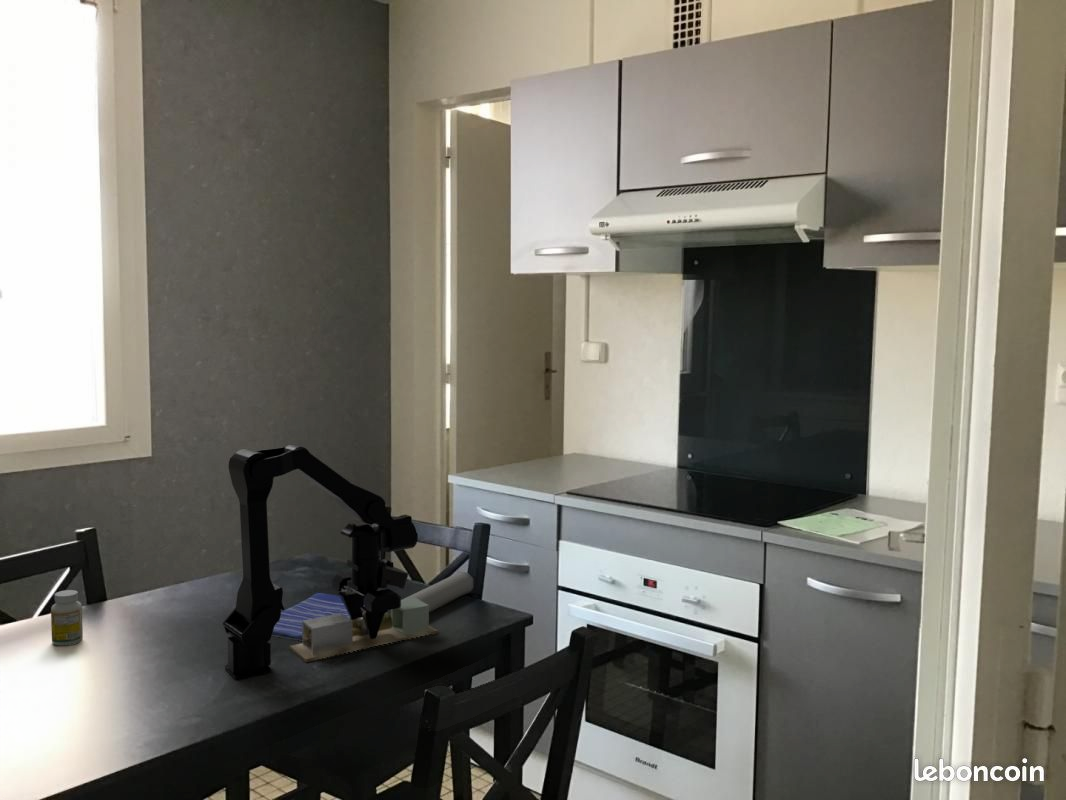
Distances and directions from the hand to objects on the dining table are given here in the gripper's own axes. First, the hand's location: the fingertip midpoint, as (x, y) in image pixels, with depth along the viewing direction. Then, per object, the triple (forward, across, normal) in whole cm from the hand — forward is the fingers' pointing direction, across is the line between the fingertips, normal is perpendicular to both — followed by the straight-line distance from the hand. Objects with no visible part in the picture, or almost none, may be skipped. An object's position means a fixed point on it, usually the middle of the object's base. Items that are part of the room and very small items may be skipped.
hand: (365, 633), depth 176 cm
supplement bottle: (+2, +31, +48) cm, 57 cm away
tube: (+2, +11, -22) cm, 24 cm away
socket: (+2, 0, -10) cm, 10 cm away
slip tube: (0, 0, +3) cm, 3 cm away
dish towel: (+2, +17, +3) cm, 17 cm away
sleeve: (+2, 0, +8) cm, 8 cm away
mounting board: (+2, 0, 0) cm, 2 cm away
